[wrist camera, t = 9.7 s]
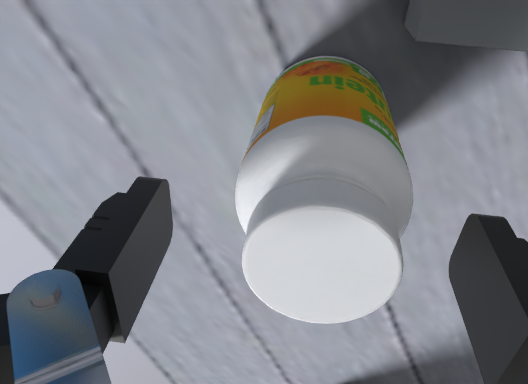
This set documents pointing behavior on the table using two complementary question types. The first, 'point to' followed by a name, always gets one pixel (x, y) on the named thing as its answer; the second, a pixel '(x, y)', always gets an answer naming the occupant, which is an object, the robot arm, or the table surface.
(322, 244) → the supplement bottle
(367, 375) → the table surface
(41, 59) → the table surface
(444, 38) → the breaker panel
